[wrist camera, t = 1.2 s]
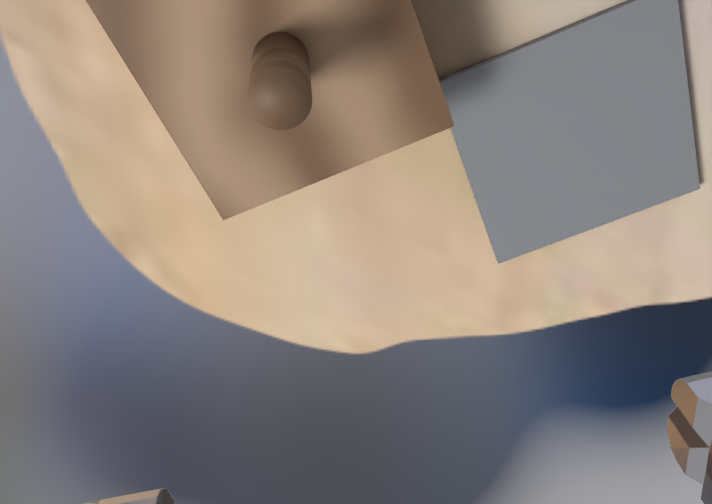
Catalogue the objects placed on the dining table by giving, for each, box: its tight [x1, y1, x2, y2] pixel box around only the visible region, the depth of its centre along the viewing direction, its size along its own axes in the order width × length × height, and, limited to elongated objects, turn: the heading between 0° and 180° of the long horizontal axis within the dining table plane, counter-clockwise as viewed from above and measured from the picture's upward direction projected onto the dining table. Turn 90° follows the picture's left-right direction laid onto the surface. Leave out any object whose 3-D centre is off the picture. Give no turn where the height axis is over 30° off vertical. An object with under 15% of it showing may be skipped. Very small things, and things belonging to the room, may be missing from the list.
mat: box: [439, 0, 700, 264], centre depth 38 cm, size 13×13×1 cm
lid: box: [86, 0, 454, 220], centre depth 29 cm, size 13×13×6 cm
